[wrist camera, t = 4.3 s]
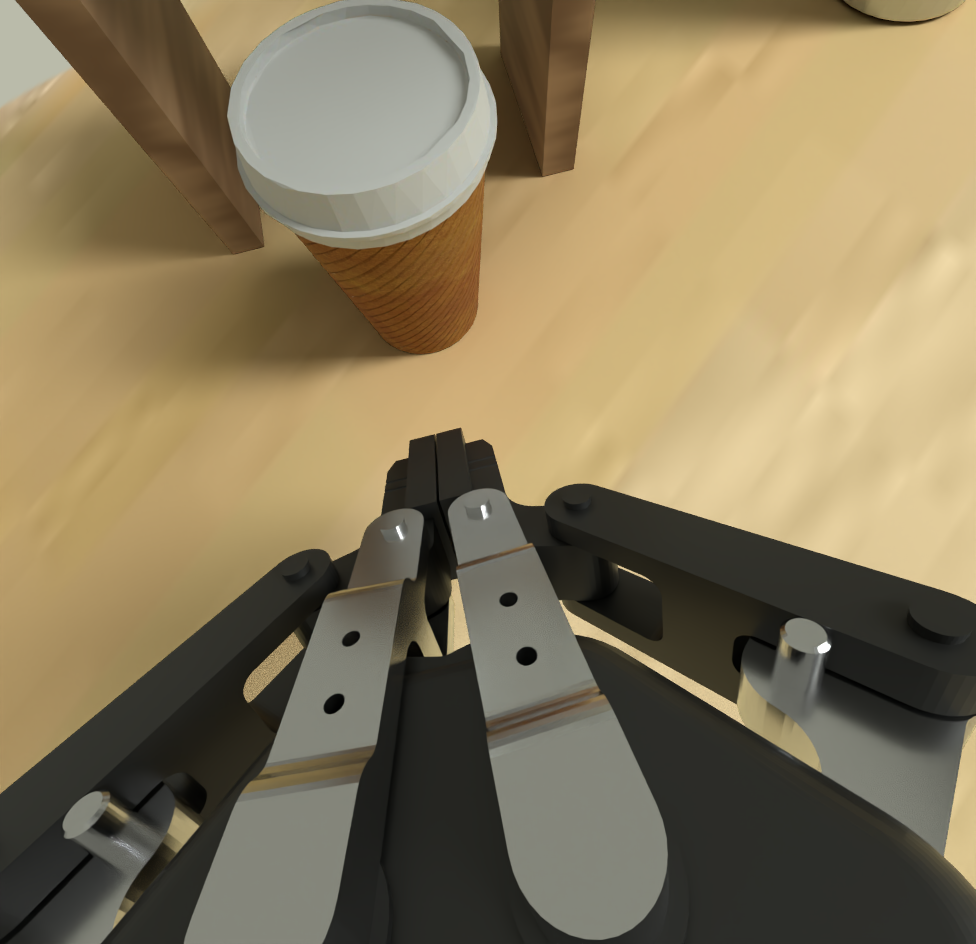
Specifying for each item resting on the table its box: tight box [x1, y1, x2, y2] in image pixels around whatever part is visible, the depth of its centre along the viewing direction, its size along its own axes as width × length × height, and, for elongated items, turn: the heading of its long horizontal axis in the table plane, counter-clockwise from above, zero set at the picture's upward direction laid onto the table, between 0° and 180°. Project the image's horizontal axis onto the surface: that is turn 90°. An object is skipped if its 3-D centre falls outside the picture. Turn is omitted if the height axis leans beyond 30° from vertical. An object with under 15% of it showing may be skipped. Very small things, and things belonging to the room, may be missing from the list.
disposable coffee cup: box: [227, 0, 497, 354], centre depth 21 cm, size 10×10×12 cm
